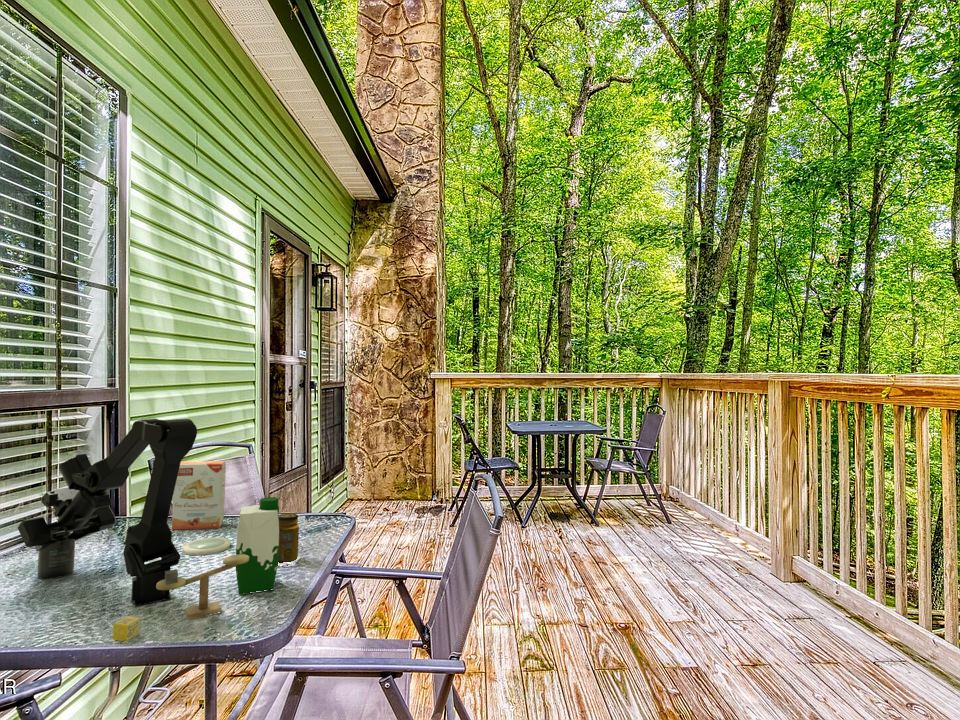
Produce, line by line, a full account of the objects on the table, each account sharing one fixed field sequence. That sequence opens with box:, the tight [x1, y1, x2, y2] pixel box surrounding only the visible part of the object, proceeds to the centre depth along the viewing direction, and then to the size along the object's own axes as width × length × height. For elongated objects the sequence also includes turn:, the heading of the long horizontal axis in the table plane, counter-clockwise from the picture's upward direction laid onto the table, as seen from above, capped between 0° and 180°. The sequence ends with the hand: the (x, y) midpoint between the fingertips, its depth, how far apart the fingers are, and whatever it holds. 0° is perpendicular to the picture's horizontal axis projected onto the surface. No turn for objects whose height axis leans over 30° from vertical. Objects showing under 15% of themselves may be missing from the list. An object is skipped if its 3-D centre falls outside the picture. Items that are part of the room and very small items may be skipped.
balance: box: [156, 554, 249, 621], centre depth 106 cm, size 17×5×10 cm, turn 126°
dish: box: [181, 537, 231, 556], centre depth 146 cm, size 12×12×1 cm
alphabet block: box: [112, 615, 142, 642], centre depth 96 cm, size 3×3×3 cm
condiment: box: [278, 512, 300, 563], centre depth 137 cm, size 7×8×12 cm
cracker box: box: [171, 460, 227, 531], centre depth 167 cm, size 14×6×21 cm, turn 104°
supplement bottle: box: [37, 521, 76, 580], centre depth 125 cm, size 7×7×12 cm
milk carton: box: [235, 496, 280, 595], centre depth 120 cm, size 9×9×20 cm
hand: (53, 545), depth 126 cm, fingers closed on supplement bottle, 7 cm apart
